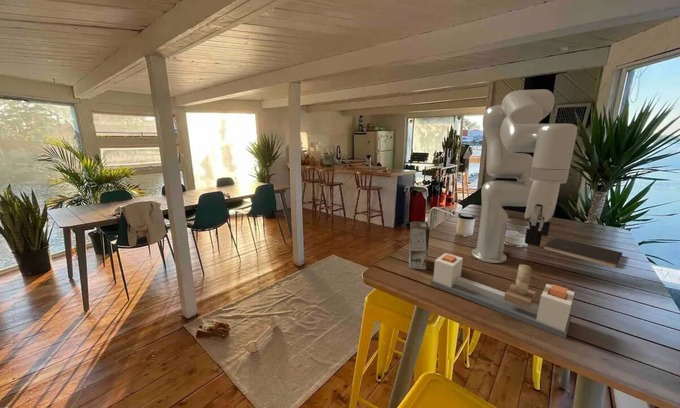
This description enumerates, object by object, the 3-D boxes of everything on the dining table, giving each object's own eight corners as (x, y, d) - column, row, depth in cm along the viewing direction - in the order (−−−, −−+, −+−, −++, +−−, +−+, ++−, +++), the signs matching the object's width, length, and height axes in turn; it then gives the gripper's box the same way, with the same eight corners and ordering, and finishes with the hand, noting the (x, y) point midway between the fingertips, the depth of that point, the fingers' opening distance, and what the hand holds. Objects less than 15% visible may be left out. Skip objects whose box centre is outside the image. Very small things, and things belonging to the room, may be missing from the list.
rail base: (442, 274, 99) (444, 251, 97) (570, 321, 75) (577, 292, 72) (430, 284, 93) (432, 260, 91) (565, 338, 69) (573, 307, 66)
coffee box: (426, 270, 103) (430, 229, 99) (409, 268, 104) (411, 228, 100) (424, 259, 111) (427, 221, 107) (408, 257, 113) (410, 220, 109)
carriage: (510, 289, 83) (516, 259, 80) (534, 297, 79) (540, 266, 76) (504, 299, 78) (509, 267, 76) (528, 308, 74) (535, 275, 71)
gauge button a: (445, 263, 94) (446, 254, 93) (454, 266, 92) (456, 257, 91) (441, 266, 92) (442, 257, 91) (450, 270, 90) (452, 260, 89)
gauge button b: (550, 295, 74) (552, 284, 74) (565, 300, 72) (567, 288, 71) (547, 300, 72) (550, 288, 71) (563, 305, 70) (566, 293, 69)
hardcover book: (615, 269, 104) (616, 263, 103) (542, 249, 121) (543, 245, 120) (621, 257, 113) (622, 252, 113) (553, 240, 131) (554, 236, 130)
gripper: (538, 170, 77) (527, 228, 81) (521, 177, 65) (510, 244, 69) (572, 173, 72) (559, 234, 76) (561, 181, 60) (547, 253, 64)
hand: (536, 239), depth 73 cm, fingers open, 9 cm apart
